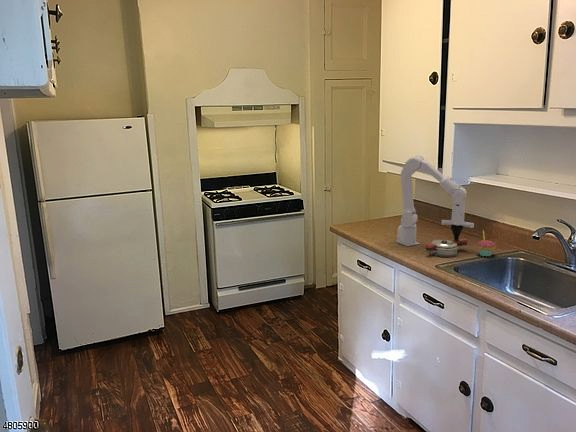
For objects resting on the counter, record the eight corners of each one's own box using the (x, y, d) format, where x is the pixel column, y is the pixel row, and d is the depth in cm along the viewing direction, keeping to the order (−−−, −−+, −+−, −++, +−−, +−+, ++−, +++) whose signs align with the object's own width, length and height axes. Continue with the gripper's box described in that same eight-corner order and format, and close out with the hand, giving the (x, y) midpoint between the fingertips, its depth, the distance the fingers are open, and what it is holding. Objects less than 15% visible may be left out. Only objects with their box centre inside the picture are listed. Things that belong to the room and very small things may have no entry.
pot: (418, 252, 230) (418, 244, 230) (455, 246, 239) (455, 238, 239) (436, 260, 219) (437, 251, 218) (474, 253, 228) (475, 244, 227)
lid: (434, 250, 219) (435, 246, 219) (419, 244, 229) (419, 240, 229) (474, 244, 227) (474, 240, 227) (458, 238, 237) (458, 235, 237)
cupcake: (472, 255, 225) (474, 230, 222) (480, 251, 231) (482, 226, 228) (490, 259, 219) (492, 233, 216) (498, 255, 225) (500, 229, 222)
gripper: (440, 213, 231) (439, 240, 234) (472, 216, 224) (470, 244, 227) (444, 210, 237) (442, 237, 240) (475, 213, 229) (473, 240, 233)
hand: (456, 240), depth 234 cm, fingers closed
